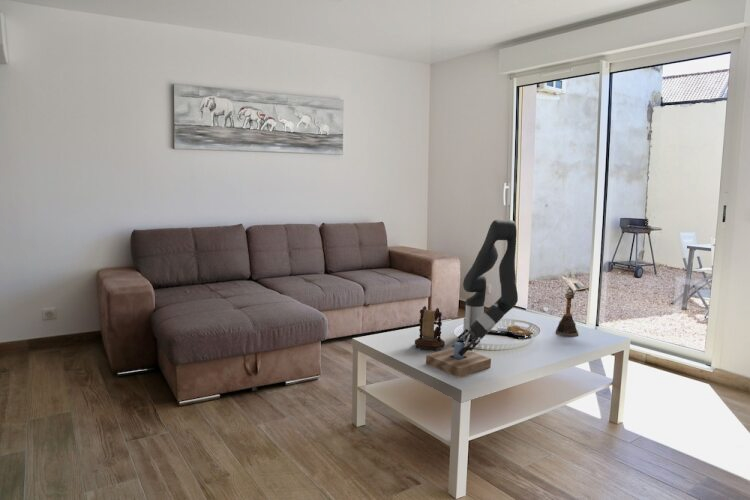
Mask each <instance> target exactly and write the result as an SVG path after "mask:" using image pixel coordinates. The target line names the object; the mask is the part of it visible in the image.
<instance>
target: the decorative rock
mask: <svg viewBox="0 0 750 500" xmlns="http://www.w3.org/2000/svg"><path fill="white" fill-rule="evenodd" d="M507 330H508V331H512V332H514V333H515V334H516V335H522V334H525V335H526V336H530V337H531V336H532V335H534V334H533V332H531V331H530V330H527V329H524V328H521V326H519V325H512V326H511V325H510V326H507V329H506V331H507ZM517 333H519V334H517Z"/></svg>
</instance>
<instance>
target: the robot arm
mask: <svg viewBox="0 0 750 500" xmlns="http://www.w3.org/2000/svg"><path fill="white" fill-rule="evenodd" d="M497 241H506V242H507V245H506V246H507V247H506V250H505V253H504V254H503V257H502V258H501V260H500V263H499V267H498V276H499V283H500V293H501V296H500V297H499V299H497V300H496V301H495V302H494V304H492V305H491V306H489V307H488V308H487V309H486V310H485V302H486V301H485V300H486V293H487V292H486V290H487V278H486V276H485V275H484V274H485V273H488V272H489V271H491V269H493V267H494V266H495V264H496V262H497V260H498V258H499V253H498V250H497V247H496V245H495V243H496V242H497ZM516 248H517V225H516V222H515V221H514V220H511V219H509V220H508V219H494V220H493V221H492V222H491V224H490V225H489V227H488V230H487V233H486V236H485V239H484V241H483V243H482V246H481V248H480V249H479V252H478V253H477V254H476V258H475V260H474V262H473V264H472V265H471V267H470V269H469V270H468V272H466V274H465V276H464V278H463V281H462V284H463V285H462V288H463V289H464V291H465V292H467V293H474V294H473V295H472V296H470V297H467V298H466V300H465V317H463V326H462V327H463V331H462V332H461V334H459V335H458V337H457V341H456V342H461V343H465V344H464V347H463V348H462V349H461V350H460V351H459V352H458V353H459V354H460V355H461V356H463V355H464V354H465V353H466V352H467V351H471V352H473V350H474V349H475V347H477V346H478V345H479V344H480V343H481V339H483V338H484V337H486V336H487V334H489V332H490V331H491V330H492V329H493V328H495V326H496V324H497V323H499V322H500V321H501V320H502V318H503V317H504V315H506V314H507V313H508V312H510V310H512V309H513V308H514V307H515V306H517V303H518V301H519V295H518V290H517V277H516V250H517V249H516ZM452 348H454V344H453V345H452Z"/></svg>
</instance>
